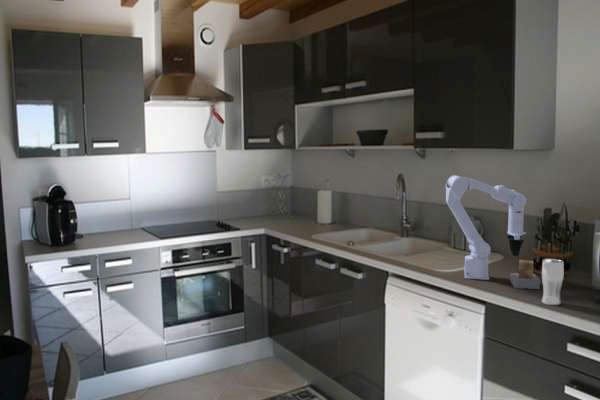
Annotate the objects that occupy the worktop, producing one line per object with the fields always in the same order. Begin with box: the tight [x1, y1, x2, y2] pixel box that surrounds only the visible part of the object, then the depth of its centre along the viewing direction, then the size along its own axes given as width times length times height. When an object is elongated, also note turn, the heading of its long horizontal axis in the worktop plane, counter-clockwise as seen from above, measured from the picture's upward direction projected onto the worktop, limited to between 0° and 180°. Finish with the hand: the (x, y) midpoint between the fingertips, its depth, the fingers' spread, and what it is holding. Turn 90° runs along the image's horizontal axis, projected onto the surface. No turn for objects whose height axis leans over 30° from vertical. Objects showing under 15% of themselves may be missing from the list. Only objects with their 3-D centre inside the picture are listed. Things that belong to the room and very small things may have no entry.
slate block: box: [509, 272, 541, 290], centre depth 202 cm, size 9×9×4 cm
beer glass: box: [540, 258, 565, 306], centre depth 179 cm, size 7×7×15 cm
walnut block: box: [518, 259, 534, 279], centre depth 201 cm, size 5×5×6 cm
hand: (514, 253), depth 213 cm, fingers open, 7 cm apart
